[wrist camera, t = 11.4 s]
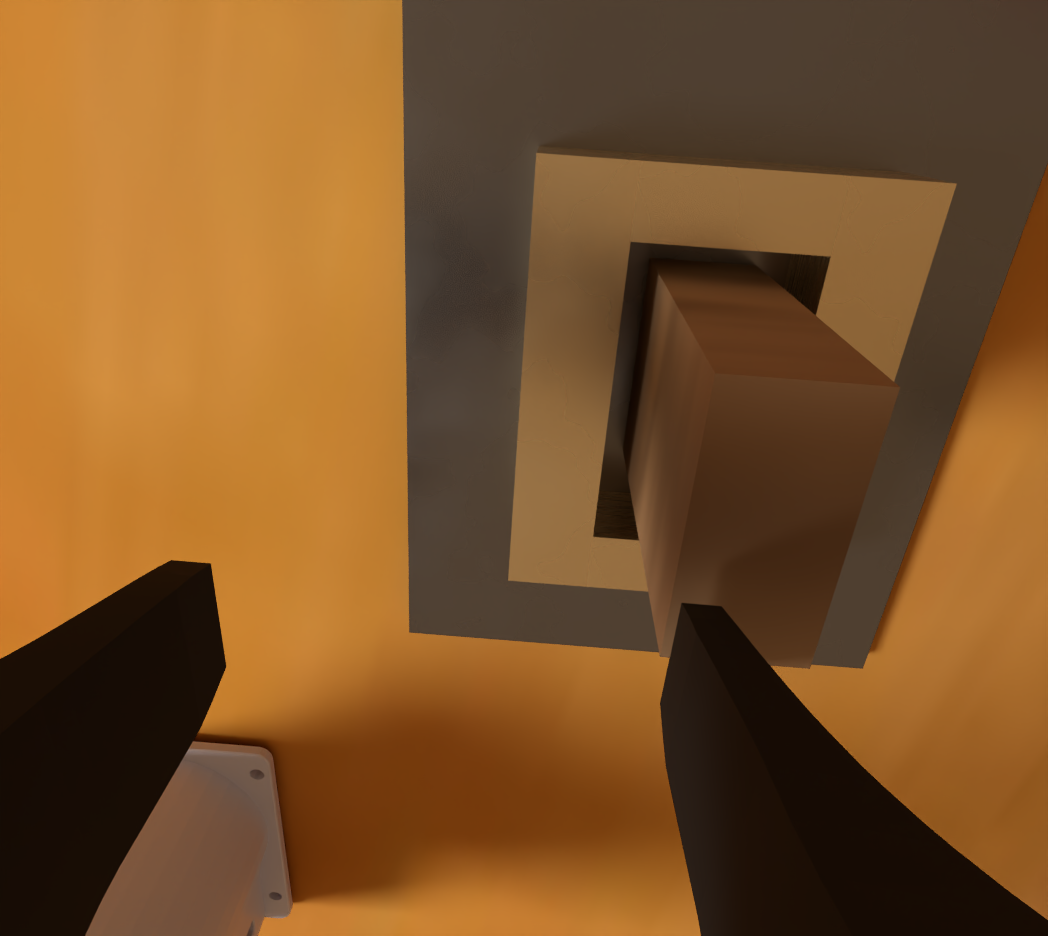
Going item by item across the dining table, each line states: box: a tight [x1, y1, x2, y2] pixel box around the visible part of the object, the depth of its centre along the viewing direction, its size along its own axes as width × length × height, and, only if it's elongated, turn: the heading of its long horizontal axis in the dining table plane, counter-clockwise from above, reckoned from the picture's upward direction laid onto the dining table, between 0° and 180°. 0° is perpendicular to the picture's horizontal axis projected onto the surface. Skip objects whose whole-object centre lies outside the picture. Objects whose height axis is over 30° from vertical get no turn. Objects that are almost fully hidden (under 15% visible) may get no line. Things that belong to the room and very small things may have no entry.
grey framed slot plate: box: [402, 0, 1048, 668], centre depth 17 cm, size 18×14×3 cm
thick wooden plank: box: [623, 258, 900, 669], centre depth 14 cm, size 5×2×8 cm, turn 177°
